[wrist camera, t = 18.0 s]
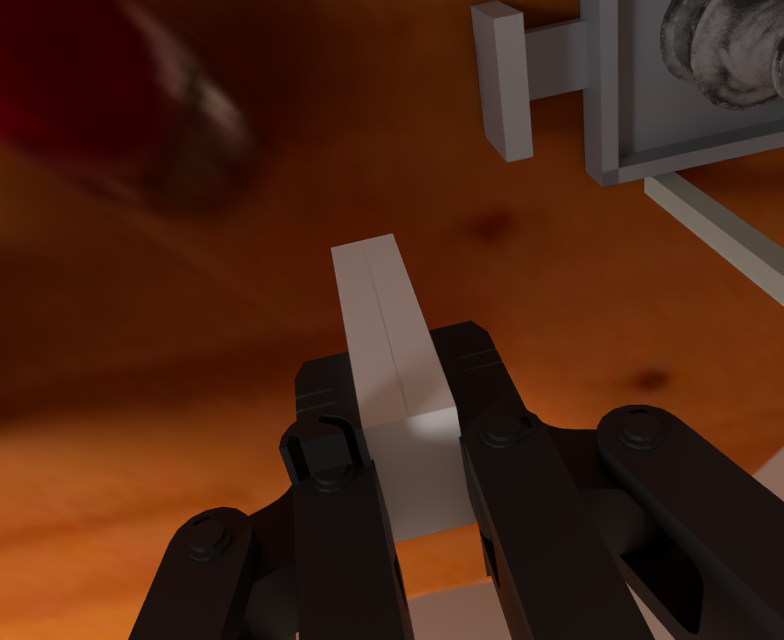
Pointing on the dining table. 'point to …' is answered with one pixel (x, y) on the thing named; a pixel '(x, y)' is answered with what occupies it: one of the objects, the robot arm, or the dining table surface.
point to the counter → (721, 231)
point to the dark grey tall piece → (727, 49)
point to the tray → (609, 92)
